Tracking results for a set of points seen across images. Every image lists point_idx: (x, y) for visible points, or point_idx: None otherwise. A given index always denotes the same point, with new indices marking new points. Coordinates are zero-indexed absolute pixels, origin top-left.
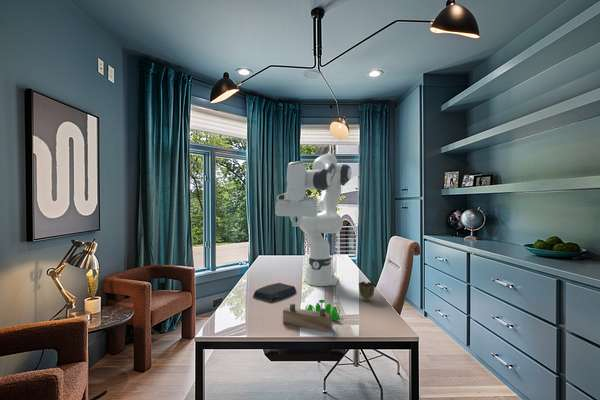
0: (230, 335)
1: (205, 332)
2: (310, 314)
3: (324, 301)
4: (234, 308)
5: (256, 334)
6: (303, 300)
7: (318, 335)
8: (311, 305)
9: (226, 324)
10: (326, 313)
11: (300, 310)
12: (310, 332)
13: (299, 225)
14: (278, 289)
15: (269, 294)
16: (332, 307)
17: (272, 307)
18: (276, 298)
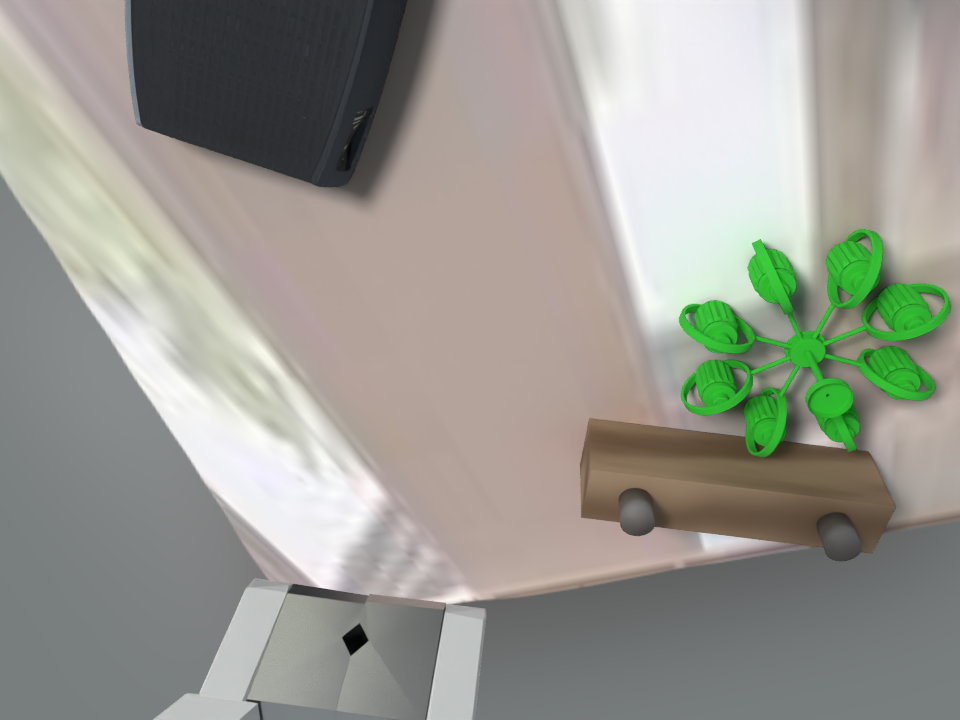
0: None
1: None
2: (759, 534)
3: (851, 401)
4: (198, 355)
5: (505, 577)
6: (592, 29)
7: None
8: (733, 352)
9: (317, 531)
10: (859, 502)
11: (687, 499)
12: None
13: (484, 623)
14: (310, 21)
15: (309, 179)
16: (899, 339)
17: (412, 270)
18: (361, 122)
